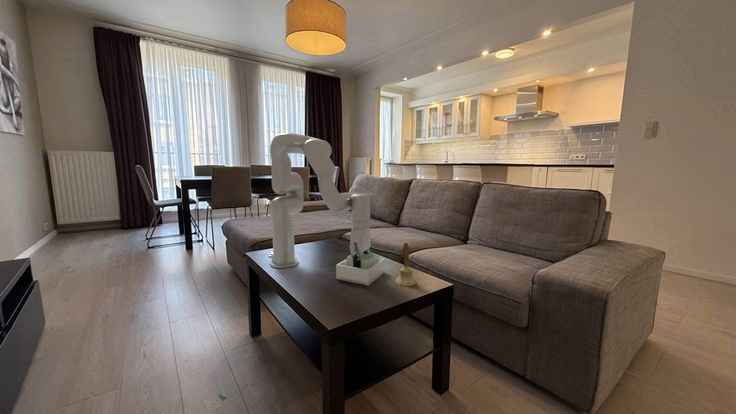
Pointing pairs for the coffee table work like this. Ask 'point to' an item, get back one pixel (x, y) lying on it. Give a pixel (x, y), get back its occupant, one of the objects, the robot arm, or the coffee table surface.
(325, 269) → the coffee table surface
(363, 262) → the small crate
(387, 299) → the coffee table surface
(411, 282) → the hand bell
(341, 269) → the big crate
